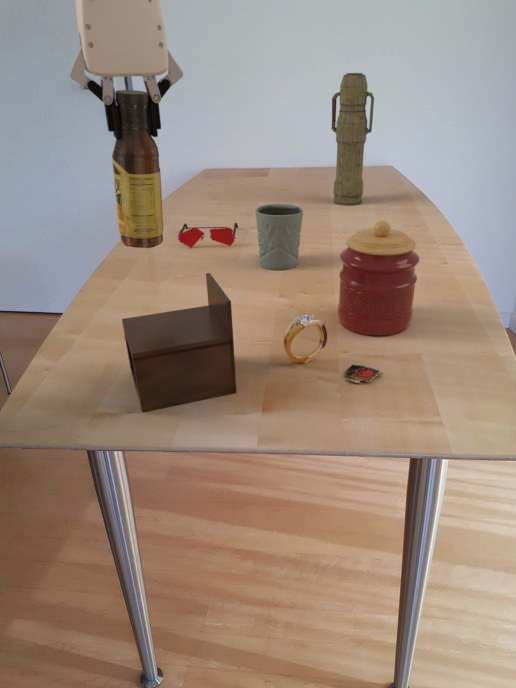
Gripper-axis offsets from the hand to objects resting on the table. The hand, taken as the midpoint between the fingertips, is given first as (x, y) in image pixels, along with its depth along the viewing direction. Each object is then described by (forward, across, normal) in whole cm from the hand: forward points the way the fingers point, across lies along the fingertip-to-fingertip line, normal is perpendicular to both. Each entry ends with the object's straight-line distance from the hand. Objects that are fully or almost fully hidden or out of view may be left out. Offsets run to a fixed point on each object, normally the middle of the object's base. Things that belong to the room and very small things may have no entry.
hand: (135, 135), depth 72 cm
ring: (+32, -20, +13) cm, 40 cm away
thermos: (+31, -72, -73) cm, 107 cm away
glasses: (+32, -23, -54) cm, 67 cm away
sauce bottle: (+15, +1, 0) cm, 15 cm away
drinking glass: (+32, -32, -30) cm, 54 cm away
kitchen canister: (+32, -37, +4) cm, 49 cm away
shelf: (+32, 0, +12) cm, 34 cm away
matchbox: (+32, -25, +20) cm, 45 cm away
